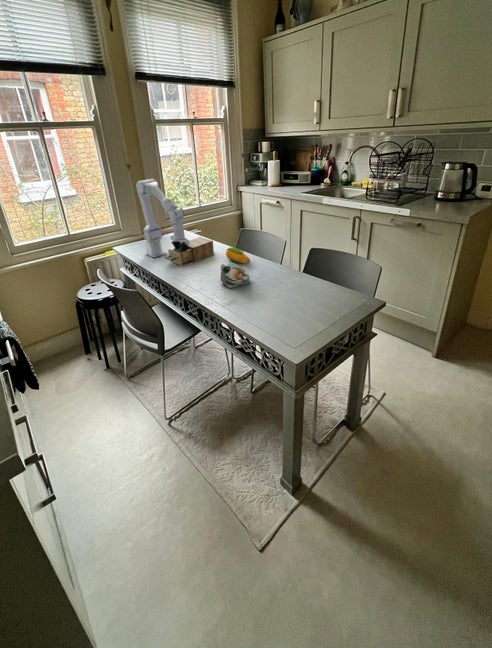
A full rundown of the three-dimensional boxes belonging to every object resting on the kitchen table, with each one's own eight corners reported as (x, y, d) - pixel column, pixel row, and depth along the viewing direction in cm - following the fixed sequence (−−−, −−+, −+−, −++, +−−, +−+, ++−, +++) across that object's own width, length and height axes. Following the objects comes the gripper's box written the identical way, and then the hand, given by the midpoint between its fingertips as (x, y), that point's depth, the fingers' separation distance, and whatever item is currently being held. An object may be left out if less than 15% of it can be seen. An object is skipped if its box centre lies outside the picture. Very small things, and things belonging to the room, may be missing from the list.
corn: (232, 242, 180) (255, 251, 165) (233, 255, 184) (256, 264, 169) (221, 246, 176) (244, 256, 162) (223, 259, 180) (245, 269, 165)
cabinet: (194, 262, 177) (193, 247, 173) (182, 257, 184) (180, 243, 181) (214, 254, 186) (212, 240, 183) (201, 250, 194) (199, 237, 190)
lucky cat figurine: (254, 279, 152) (256, 261, 141) (242, 298, 146) (243, 280, 135) (227, 267, 157) (227, 248, 145) (214, 284, 150) (213, 266, 139)
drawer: (174, 267, 168) (172, 256, 166) (163, 263, 175) (161, 251, 172) (199, 258, 180) (198, 246, 177) (188, 254, 186) (187, 243, 184)
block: (176, 256, 177) (175, 249, 175) (182, 254, 179) (181, 247, 178) (181, 258, 174) (180, 251, 172) (187, 256, 177) (186, 248, 175)
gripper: (164, 230, 173) (168, 253, 178) (180, 234, 163) (183, 259, 169) (175, 227, 177) (178, 249, 183) (191, 231, 168) (194, 255, 173)
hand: (181, 254), depth 176 cm, fingers closed on block, 4 cm apart
